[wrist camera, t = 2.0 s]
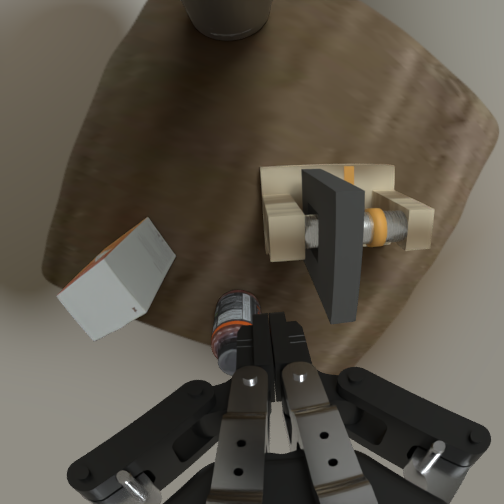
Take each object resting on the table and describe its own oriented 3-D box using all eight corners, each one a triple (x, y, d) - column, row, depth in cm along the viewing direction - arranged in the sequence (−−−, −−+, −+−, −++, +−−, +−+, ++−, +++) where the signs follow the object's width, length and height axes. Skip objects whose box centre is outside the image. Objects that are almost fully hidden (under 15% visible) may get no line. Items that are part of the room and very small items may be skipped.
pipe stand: (259, 167, 33) (266, 181, 23) (389, 164, 33) (438, 178, 23) (265, 249, 37) (272, 293, 27) (385, 240, 37) (426, 276, 27)
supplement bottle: (262, 323, 41) (267, 381, 30) (219, 326, 41) (213, 385, 31) (258, 285, 39) (263, 340, 28) (213, 289, 39) (203, 345, 28)
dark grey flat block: (301, 169, 29) (335, 191, 18) (320, 168, 29) (365, 190, 18) (303, 259, 33) (330, 324, 22) (320, 258, 33) (355, 321, 22)
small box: (148, 214, 35) (103, 257, 23) (177, 256, 37) (149, 314, 25) (104, 247, 36) (54, 296, 24) (132, 284, 38) (94, 344, 26)
